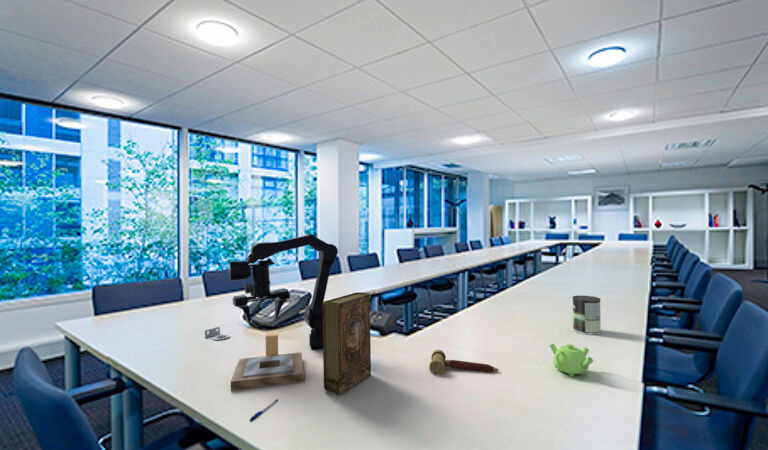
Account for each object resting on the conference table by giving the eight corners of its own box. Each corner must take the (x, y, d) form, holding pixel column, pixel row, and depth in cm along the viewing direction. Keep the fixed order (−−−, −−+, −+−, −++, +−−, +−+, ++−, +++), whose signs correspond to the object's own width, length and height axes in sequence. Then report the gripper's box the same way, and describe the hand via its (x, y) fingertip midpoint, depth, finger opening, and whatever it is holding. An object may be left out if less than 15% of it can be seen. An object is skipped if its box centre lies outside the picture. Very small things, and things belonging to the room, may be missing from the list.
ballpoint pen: (252, 422, 83) (252, 418, 83) (249, 422, 84) (249, 418, 84) (278, 401, 93) (278, 397, 93) (275, 400, 94) (275, 397, 94)
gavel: (497, 356, 114) (501, 369, 104) (496, 371, 114) (500, 384, 104) (432, 348, 118) (429, 359, 109) (431, 362, 119) (428, 374, 109)
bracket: (218, 342, 143) (218, 333, 143) (204, 338, 149) (204, 330, 149) (233, 338, 149) (233, 329, 149) (219, 334, 154) (219, 326, 154)
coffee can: (571, 332, 148) (570, 298, 148) (574, 326, 156) (574, 294, 156) (600, 336, 142) (599, 301, 142) (602, 330, 150) (601, 296, 150)
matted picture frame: (301, 359, 122) (301, 351, 122) (303, 381, 105) (303, 371, 105) (239, 366, 117) (239, 357, 117) (230, 390, 100) (230, 379, 100)
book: (358, 371, 112) (357, 291, 112) (373, 374, 109) (372, 293, 109) (323, 392, 98) (322, 301, 98) (339, 397, 95) (337, 303, 95)
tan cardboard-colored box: (278, 354, 128) (277, 332, 128) (277, 358, 124) (277, 335, 124) (266, 355, 127) (266, 333, 127) (265, 359, 123) (265, 336, 123)
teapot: (550, 376, 106) (550, 348, 106) (549, 362, 116) (549, 336, 116) (594, 382, 101) (593, 352, 101) (588, 367, 112) (588, 340, 112)
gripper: (280, 272, 138) (282, 312, 138) (229, 278, 128) (231, 321, 128) (289, 275, 129) (291, 318, 129) (234, 282, 119) (236, 328, 119)
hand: (263, 321), depth 126 cm, fingers open, 9 cm apart
